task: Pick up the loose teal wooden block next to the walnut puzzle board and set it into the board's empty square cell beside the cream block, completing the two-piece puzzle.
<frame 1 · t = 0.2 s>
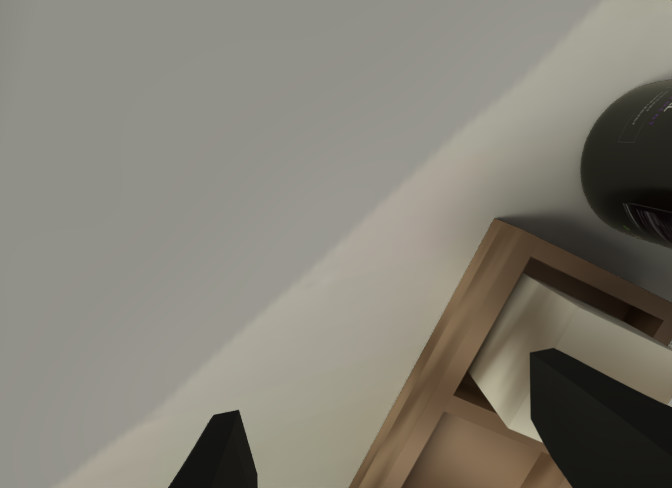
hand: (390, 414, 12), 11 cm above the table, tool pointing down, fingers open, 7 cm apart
walnut puzzle board: (488, 394, 24), on the table
supplement bottle: (643, 161, 22), on the table
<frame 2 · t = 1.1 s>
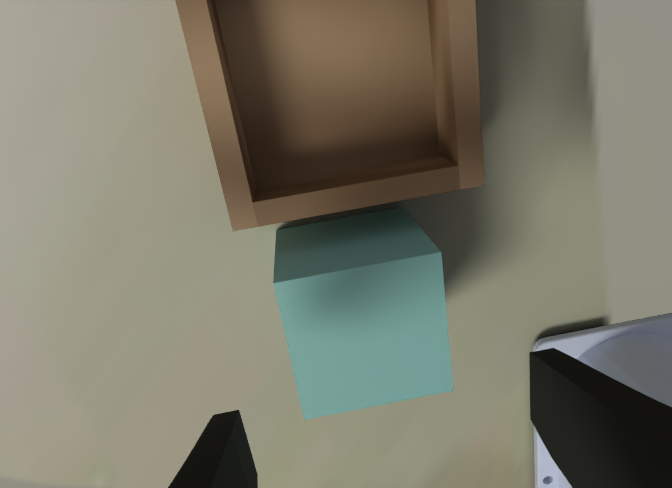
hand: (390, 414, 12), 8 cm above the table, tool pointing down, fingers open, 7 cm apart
teal block: (349, 275, 20), on the table
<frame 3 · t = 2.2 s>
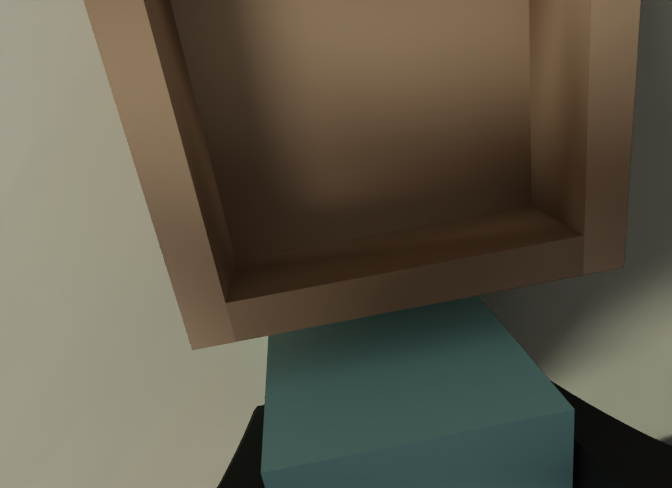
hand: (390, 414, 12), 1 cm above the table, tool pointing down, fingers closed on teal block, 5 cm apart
teal block: (379, 378, 13), on the table, touching gripper
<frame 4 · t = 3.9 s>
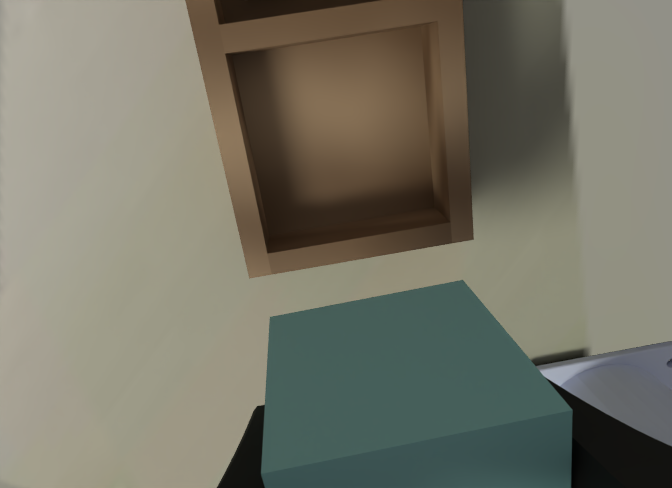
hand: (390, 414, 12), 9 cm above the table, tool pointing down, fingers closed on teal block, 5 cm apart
teal block: (379, 379, 13), point 8 cm above the table, touching gripper
walnut puzzle board: (323, 30, 17), on the table
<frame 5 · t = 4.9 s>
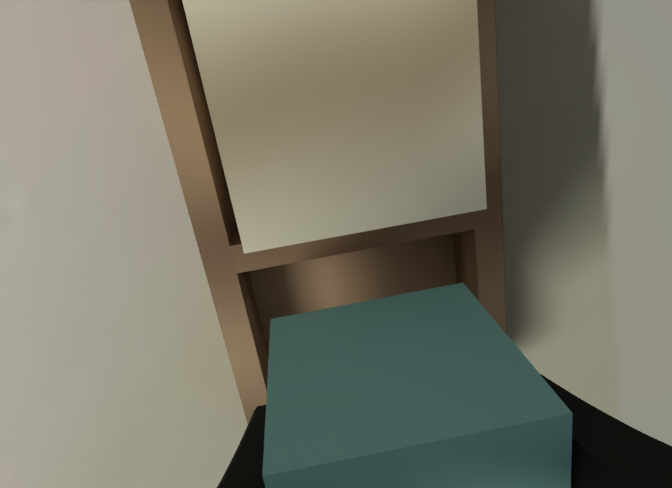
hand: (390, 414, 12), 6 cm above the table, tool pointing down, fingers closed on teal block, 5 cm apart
teal block: (379, 381, 13), point 4 cm above the table, touching gripper
walnut puzzle board: (342, 207, 16), on the table
when the fingers open (4 cm above the table, at t = 5.7 s): teal block drops 2 cm, resting on walnut puzzle board.
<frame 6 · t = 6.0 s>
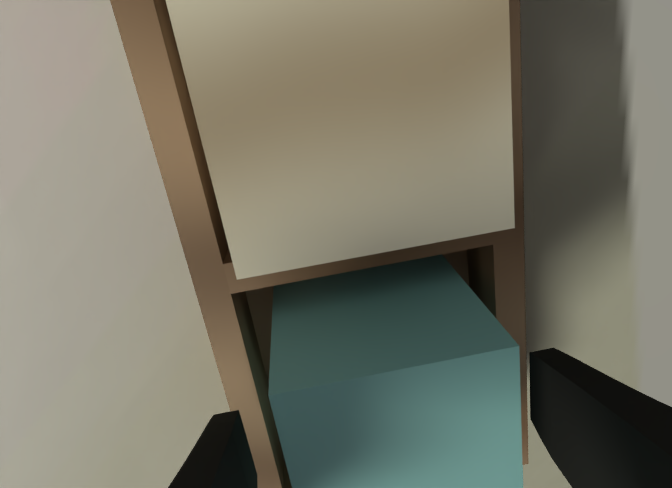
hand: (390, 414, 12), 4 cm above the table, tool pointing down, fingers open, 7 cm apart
teal block: (369, 342, 15), point 1 cm above the table, touching walnut puzzle board
walnut puzzle board: (346, 218, 14), on the table
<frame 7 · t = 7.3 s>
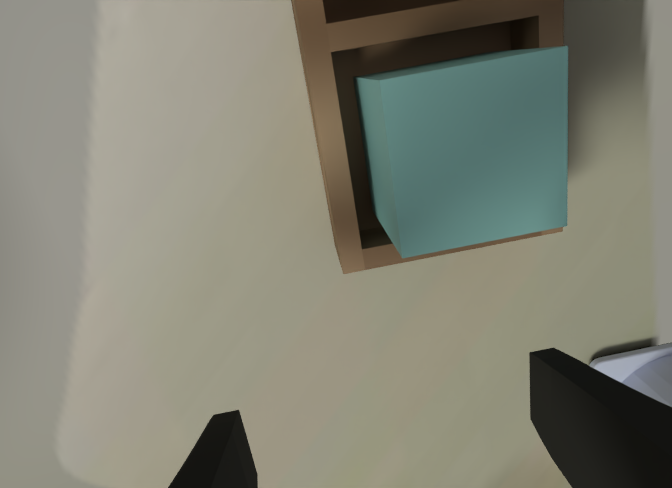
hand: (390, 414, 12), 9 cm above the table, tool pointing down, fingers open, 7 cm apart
teal block: (428, 134, 18), point 1 cm above the table, touching walnut puzzle board
walnut puzzle board: (410, 27, 17), on the table
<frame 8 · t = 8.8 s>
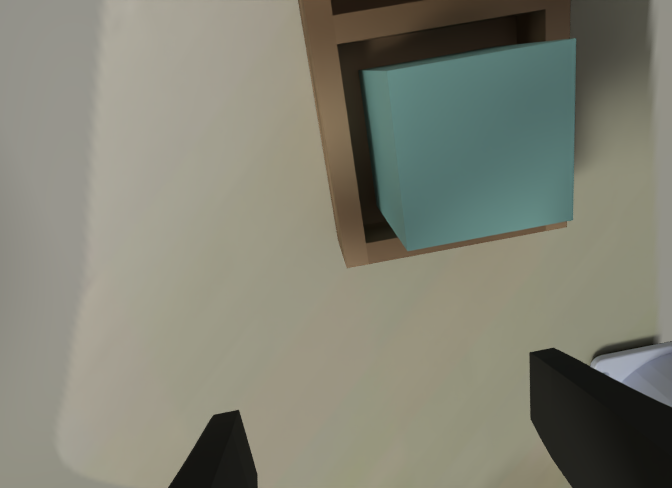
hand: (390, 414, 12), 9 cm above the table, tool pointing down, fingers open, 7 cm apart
teal block: (433, 129, 18), point 1 cm above the table, touching walnut puzzle board
walnut puzzle board: (415, 21, 17), on the table
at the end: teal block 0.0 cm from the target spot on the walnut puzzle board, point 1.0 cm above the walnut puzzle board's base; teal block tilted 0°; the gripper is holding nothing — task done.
